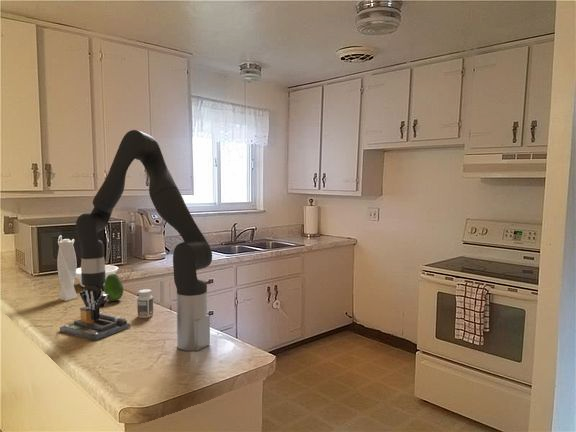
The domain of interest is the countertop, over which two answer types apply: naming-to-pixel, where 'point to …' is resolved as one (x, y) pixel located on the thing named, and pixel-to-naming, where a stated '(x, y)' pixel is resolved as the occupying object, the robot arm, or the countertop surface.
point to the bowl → (108, 271)
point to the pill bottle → (145, 303)
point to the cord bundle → (113, 318)
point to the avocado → (113, 287)
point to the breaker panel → (93, 329)
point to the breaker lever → (86, 315)
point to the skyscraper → (66, 268)
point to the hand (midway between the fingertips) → (95, 319)
